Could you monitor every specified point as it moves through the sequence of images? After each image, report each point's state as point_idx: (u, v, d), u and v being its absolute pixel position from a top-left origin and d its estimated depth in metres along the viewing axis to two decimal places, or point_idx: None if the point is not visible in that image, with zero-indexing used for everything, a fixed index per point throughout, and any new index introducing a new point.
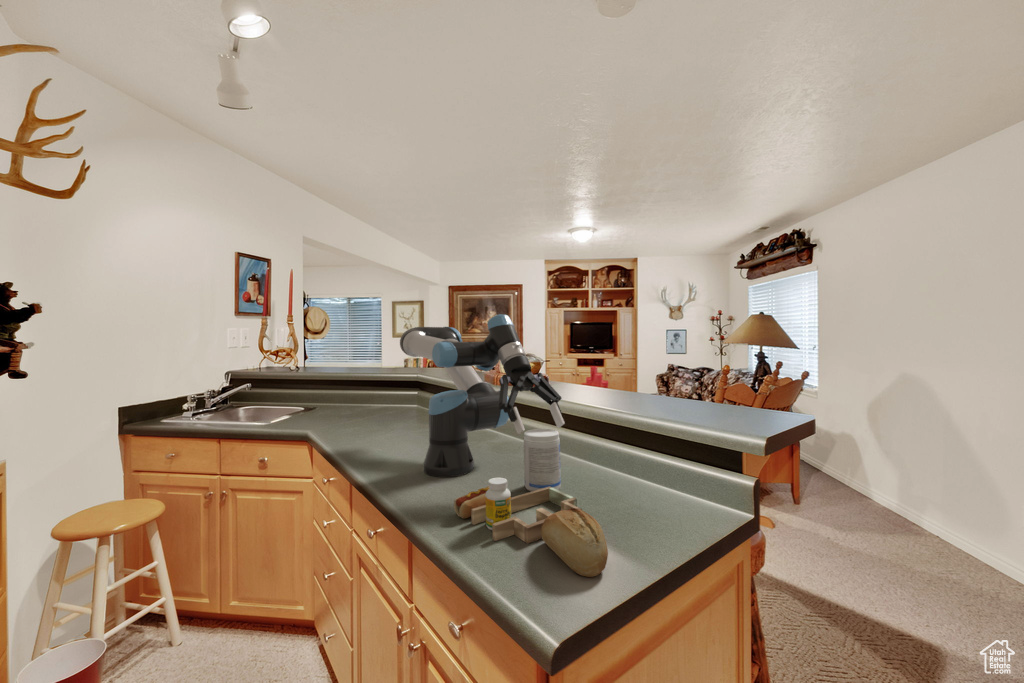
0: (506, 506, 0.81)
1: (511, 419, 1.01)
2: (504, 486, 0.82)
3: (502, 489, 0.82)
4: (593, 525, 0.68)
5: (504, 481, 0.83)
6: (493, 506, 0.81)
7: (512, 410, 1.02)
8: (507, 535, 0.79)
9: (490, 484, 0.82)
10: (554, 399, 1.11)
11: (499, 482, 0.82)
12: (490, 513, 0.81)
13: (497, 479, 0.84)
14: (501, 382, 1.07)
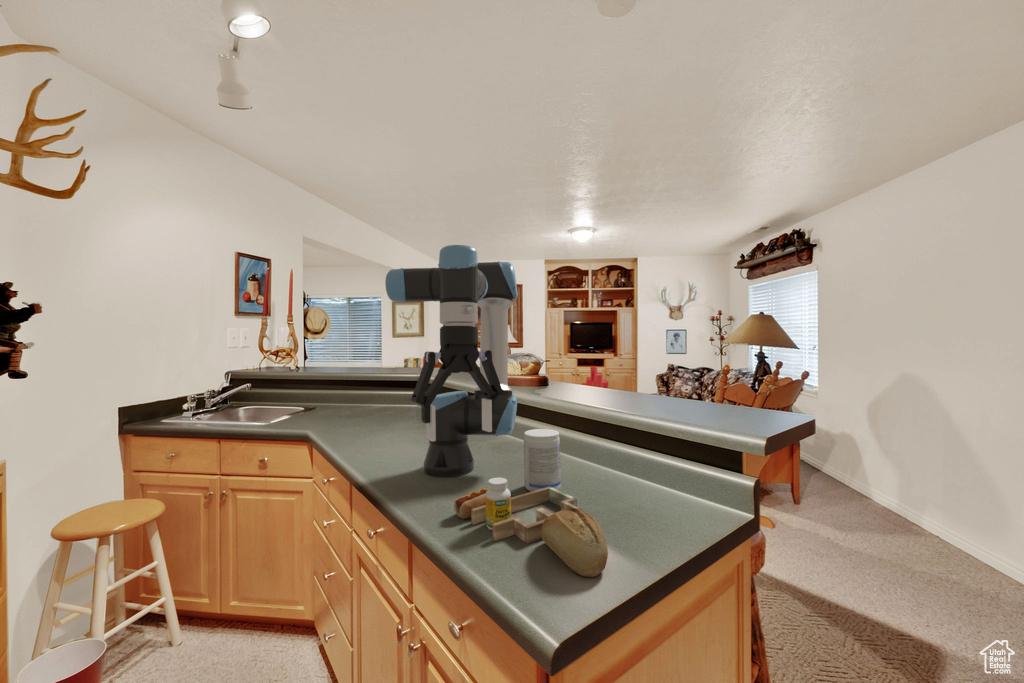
0: (506, 506, 0.81)
1: (423, 420, 0.74)
2: (504, 486, 0.82)
3: (502, 489, 0.82)
4: (593, 525, 0.68)
5: (504, 481, 0.83)
6: (493, 506, 0.81)
7: (428, 409, 0.73)
8: (507, 535, 0.79)
9: (490, 484, 0.82)
10: (491, 395, 0.81)
11: (499, 482, 0.82)
12: (490, 513, 0.81)
13: (497, 479, 0.84)
14: (426, 360, 0.74)
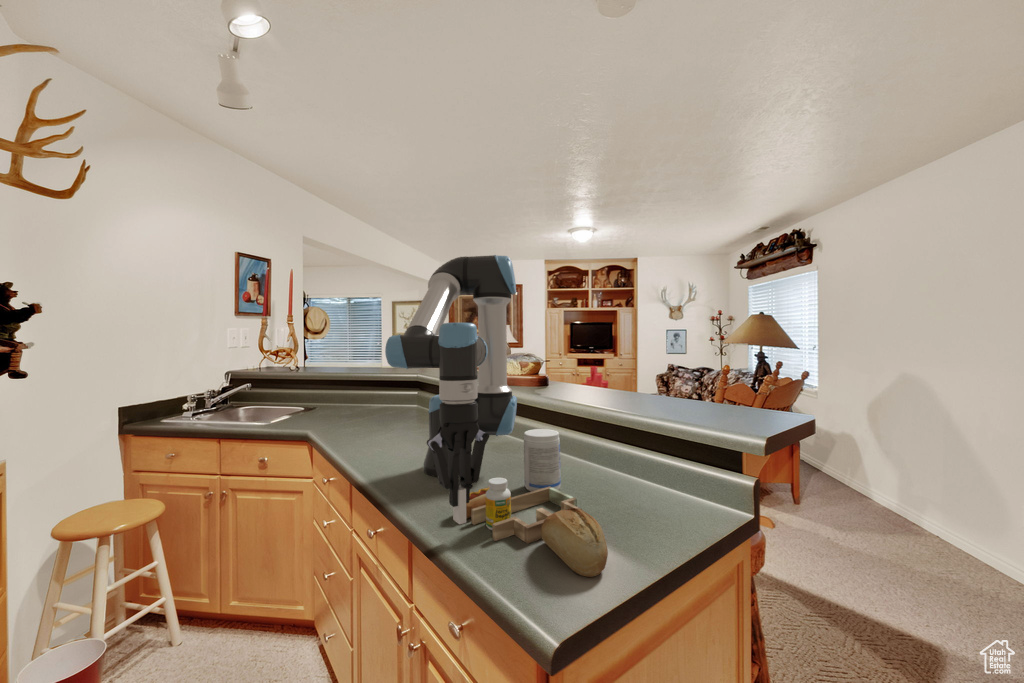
0: (507, 506, 0.81)
1: (450, 503, 0.77)
2: (504, 486, 0.82)
3: (502, 489, 0.82)
4: (593, 524, 0.68)
5: (504, 481, 0.83)
6: (493, 506, 0.81)
7: (456, 493, 0.77)
8: (507, 535, 0.79)
9: (490, 484, 0.82)
10: (467, 482, 0.77)
11: (499, 482, 0.82)
12: (490, 513, 0.81)
13: (497, 479, 0.84)
14: (431, 449, 0.75)
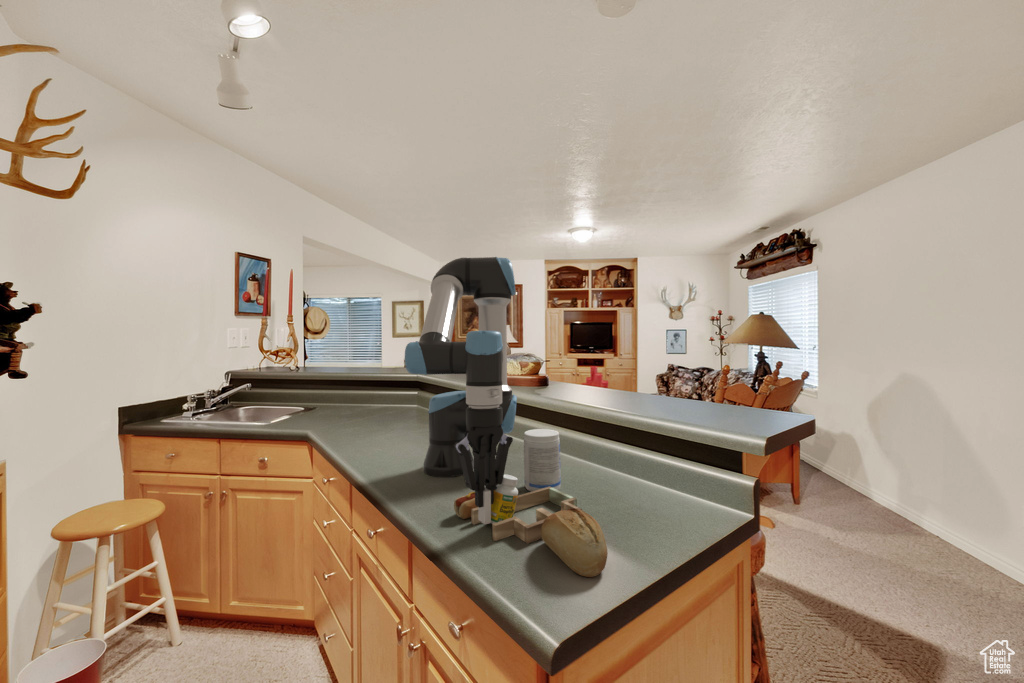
0: (512, 504, 0.82)
1: (476, 504, 0.80)
2: (514, 483, 0.83)
3: (512, 485, 0.83)
4: (593, 525, 0.68)
5: (515, 478, 0.84)
6: (500, 500, 0.81)
7: (481, 494, 0.80)
8: (507, 535, 0.79)
9: None
10: (492, 484, 0.81)
11: (510, 478, 0.83)
12: (495, 506, 0.82)
13: (508, 476, 0.85)
14: (459, 452, 0.78)
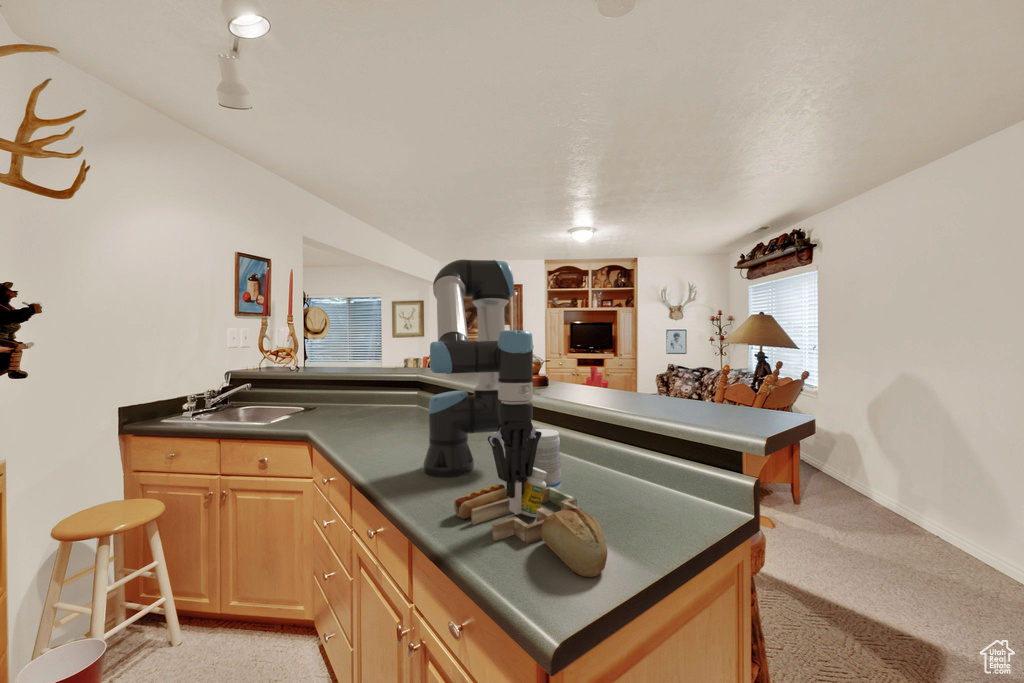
0: (541, 495, 0.86)
1: (508, 495, 0.84)
2: (544, 476, 0.87)
3: (541, 478, 0.87)
4: (593, 525, 0.68)
5: (544, 472, 0.88)
6: (530, 490, 0.86)
7: (513, 485, 0.84)
8: (507, 535, 0.79)
9: None
10: (522, 476, 0.85)
11: (540, 471, 0.88)
12: (524, 496, 0.86)
13: (537, 469, 0.89)
14: (492, 445, 0.83)
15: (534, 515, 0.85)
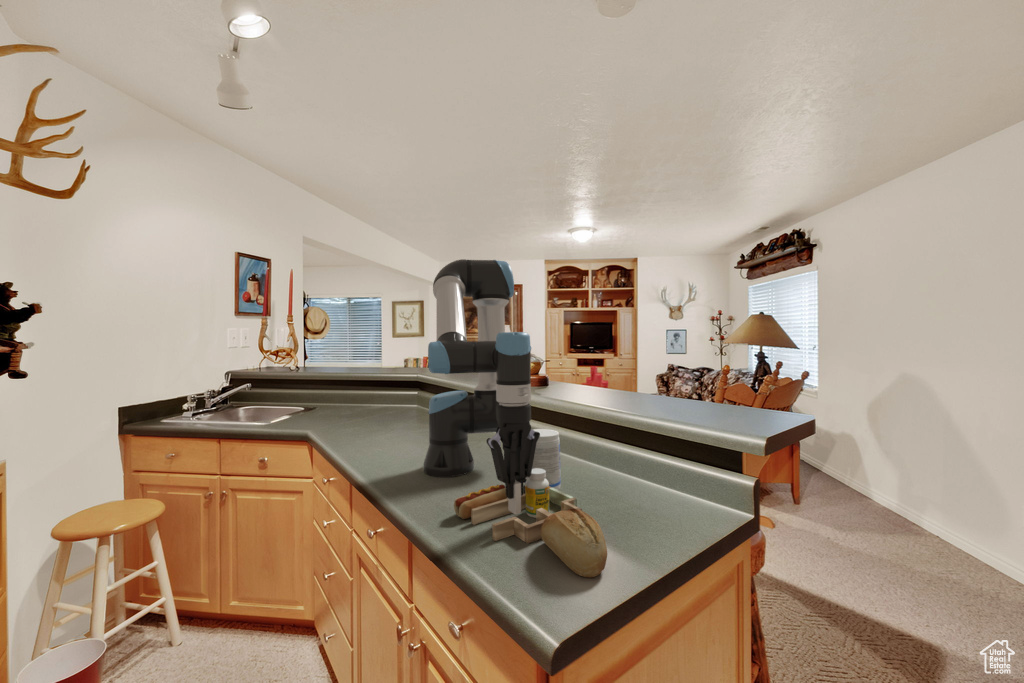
0: (546, 495, 0.87)
1: (507, 496, 0.85)
2: (543, 476, 0.88)
3: (541, 479, 0.87)
4: (593, 525, 0.68)
5: (543, 471, 0.88)
6: (533, 494, 0.87)
7: (512, 486, 0.85)
8: (507, 535, 0.79)
9: None
10: (521, 476, 0.85)
11: (538, 472, 0.88)
12: (530, 501, 0.87)
13: (536, 470, 0.90)
14: (491, 447, 0.83)
15: None
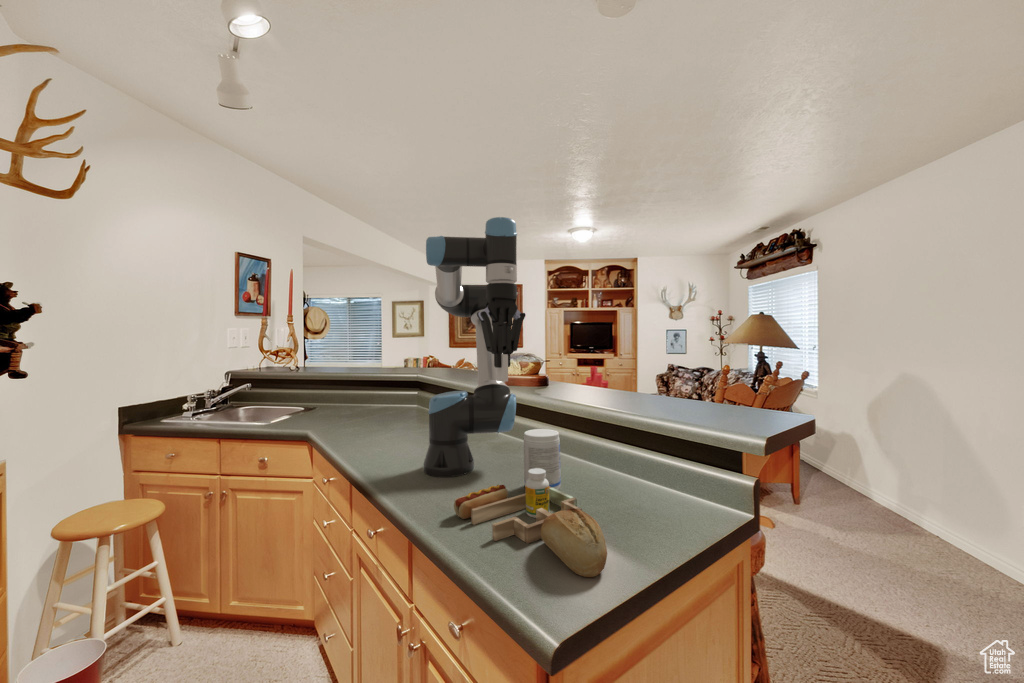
0: (546, 495, 0.87)
1: (495, 365, 0.95)
2: (543, 476, 0.88)
3: (541, 479, 0.87)
4: (592, 525, 0.68)
5: (543, 471, 0.88)
6: (533, 494, 0.87)
7: (500, 357, 0.95)
8: (507, 535, 0.79)
9: (530, 474, 0.88)
10: (508, 349, 0.95)
11: (538, 472, 0.88)
12: (530, 501, 0.87)
13: (536, 470, 0.90)
14: (481, 319, 0.93)
15: None
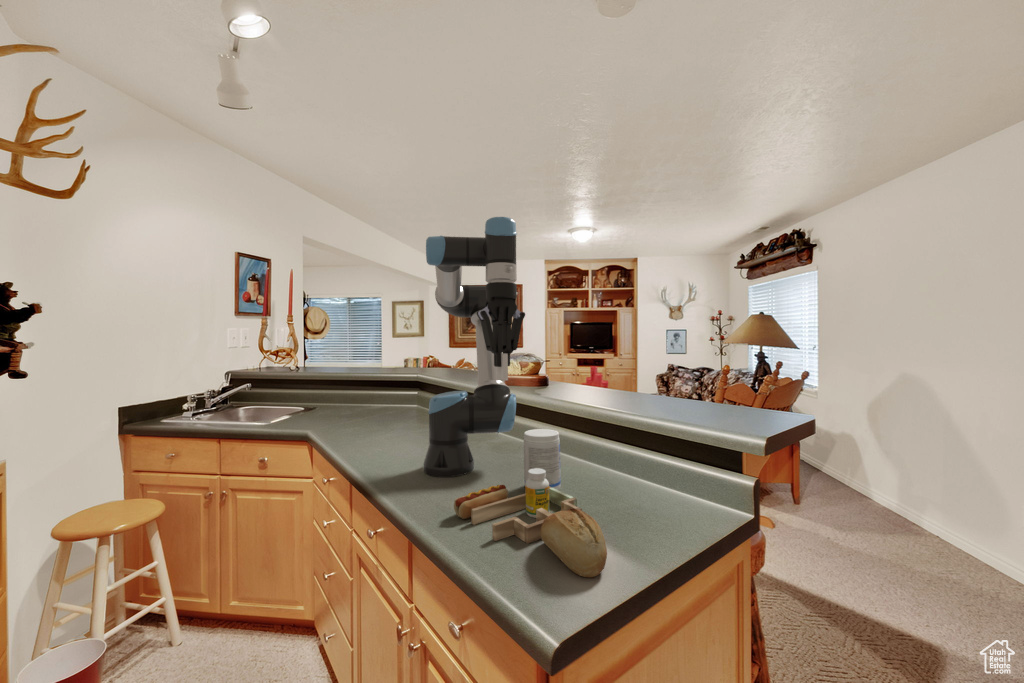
0: (546, 495, 0.87)
1: (495, 364, 0.95)
2: (543, 476, 0.88)
3: (541, 479, 0.87)
4: (592, 525, 0.68)
5: (543, 471, 0.88)
6: (533, 494, 0.87)
7: (499, 356, 0.95)
8: (507, 535, 0.79)
9: (530, 474, 0.88)
10: (508, 348, 0.96)
11: (538, 472, 0.88)
12: (530, 501, 0.87)
13: (536, 470, 0.90)
14: (480, 318, 0.93)
15: None
